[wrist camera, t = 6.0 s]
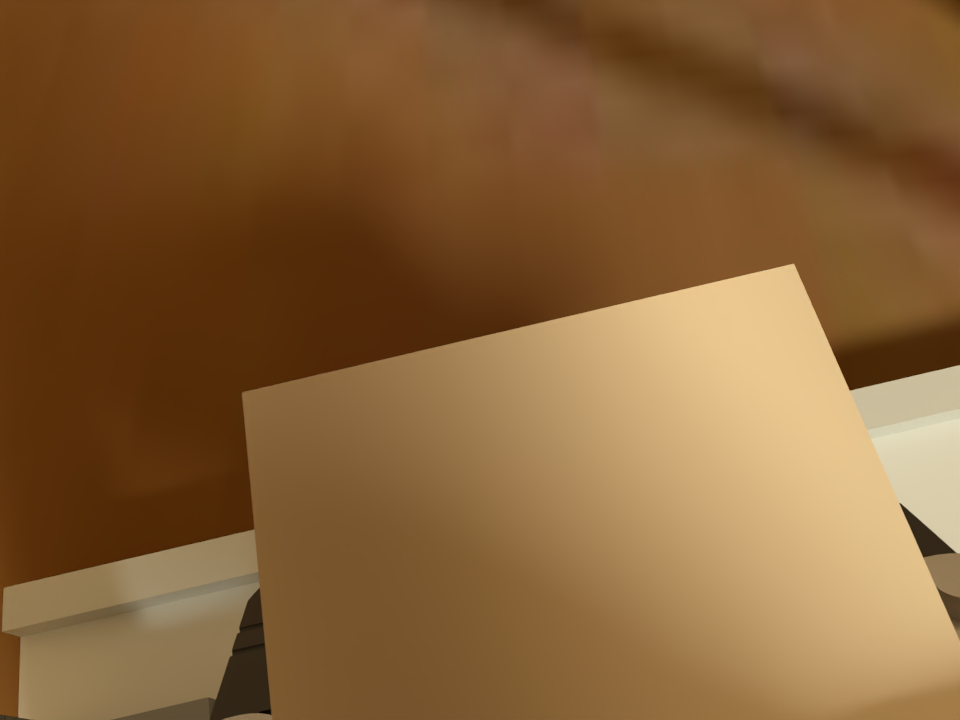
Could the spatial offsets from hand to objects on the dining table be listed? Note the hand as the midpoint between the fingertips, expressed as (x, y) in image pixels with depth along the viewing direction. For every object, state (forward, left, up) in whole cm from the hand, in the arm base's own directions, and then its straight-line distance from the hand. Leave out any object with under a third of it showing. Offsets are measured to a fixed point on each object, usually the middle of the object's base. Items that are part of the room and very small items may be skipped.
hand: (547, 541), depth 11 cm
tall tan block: (-1, +2, -5) cm, 5 cm away
